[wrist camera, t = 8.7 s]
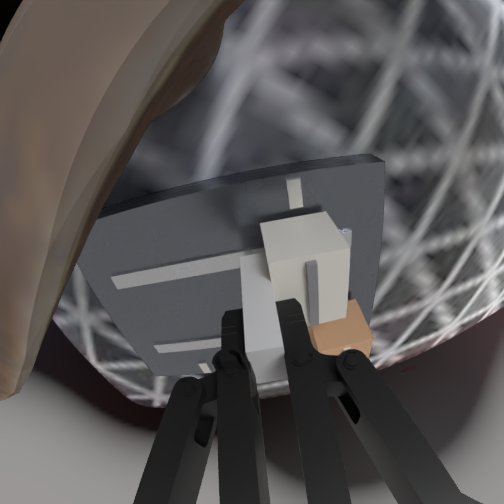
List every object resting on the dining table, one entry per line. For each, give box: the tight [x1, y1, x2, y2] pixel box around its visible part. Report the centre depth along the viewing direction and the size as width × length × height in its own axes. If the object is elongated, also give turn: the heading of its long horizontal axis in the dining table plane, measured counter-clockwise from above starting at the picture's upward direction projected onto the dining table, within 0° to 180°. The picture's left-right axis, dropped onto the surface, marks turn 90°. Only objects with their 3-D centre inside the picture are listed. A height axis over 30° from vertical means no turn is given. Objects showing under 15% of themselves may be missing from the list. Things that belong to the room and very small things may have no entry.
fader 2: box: [308, 299, 374, 358], centre depth 20 cm, size 5×4×4 cm
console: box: [77, 154, 385, 376], centre depth 21 cm, size 18×22×2 cm
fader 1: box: [260, 211, 350, 326], centre depth 15 cm, size 5×4×4 cm
